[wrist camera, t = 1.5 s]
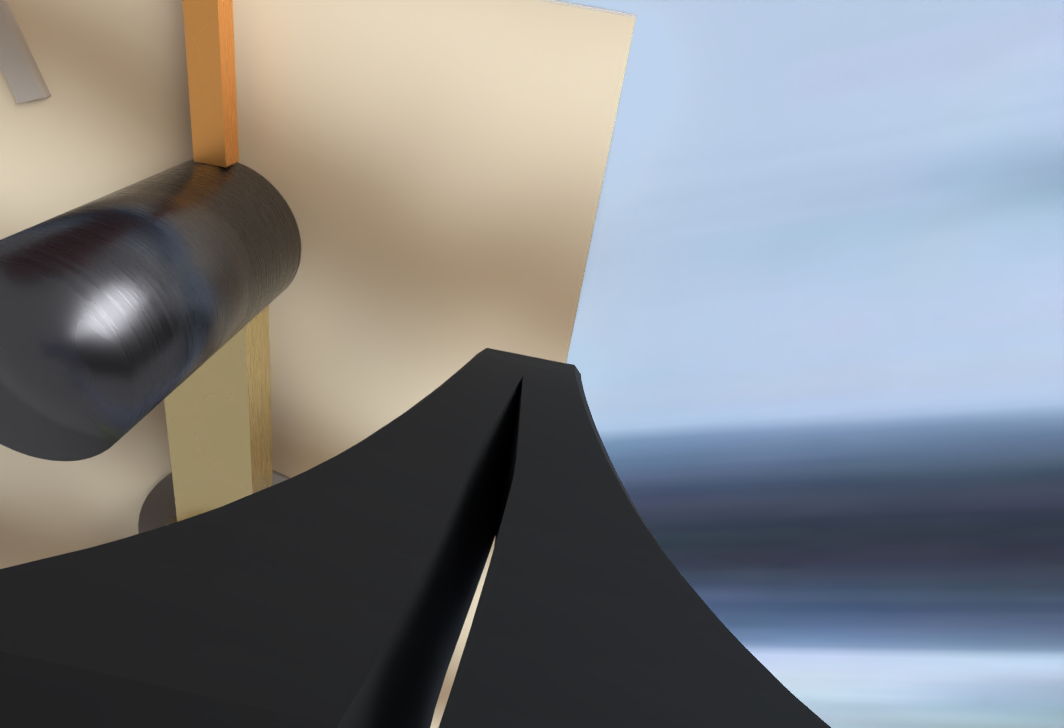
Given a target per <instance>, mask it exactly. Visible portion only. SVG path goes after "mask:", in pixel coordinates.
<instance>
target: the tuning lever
mask: <svg viewBox="0 0 1064 728" xmlns="http://www.w3.org/2000/svg"><path fill="white" fill-rule="evenodd" d="M182 2H183V16H184V30H185V44H186V58H187V72H188V86H189V101H190V115H191V129H192V143H193V157H194V159H192V160H189V161H186V162H183V163H181V164H179V165H176V166H174V167H172V168H169V169H167V170H164V171H162V172H160V173H157V174H155V175H153V176H150V177H148V178H146V179H143V180H141V181H138V182H136V183H134V184H131V185H129V186H127V187H124V188H122V189H119V190H117V191H115V192H112V193H110V194H108V195H105V196H103V197H101V198H98V199H96V200H93V201H91V202H89V203H86V204H84V205H82V206H79V207H77V208H75V209H72V210H70V211H67V212H65V213H63V214H60V215H58V216H56V217H53V218H51V219H49V220H46V221H44V222H41V223H39V224H37V225H34V226H32V227H30V228H27V229H25V230H22V231H20V232H18V233H15V234H13V235H11V236H8V237H6V238H4V239H1V240H0V444H1V445H3V446H6V447H8V448H10V449H12V450H14V451H17V452H20V453H22V454H25V455H28V456H32V457H36V458H40V459H45V460H52V461H79V460H83V459H88V458H91V457H94V456H97V455H99V454H101V453H103V452H105V451H106V450H108V449H110V448H111V447H112V446H113V445H114V444H115V443H116V442H117V441H119V440H120V439H121V438H122V437H123V436H124V435H125V434H126V433H127V432H128V431H130V430H131V429H132V428H133V427H134V426H135V425H136V424H137V423H138V422H140V421H141V420H142V419H143V418H144V417H145V416H146V415H147V414H148V413H150V412H151V411H152V410H153V409H154V408H155V407H156V406H157V405H158V404H159V403H161V402H162V401H163V400H164V403H165V413H166V422H167V431H168V441H169V450H170V459H171V469H172V478H173V487H174V496H175V506H176V514H175V515H174V516H173V517H172V518H171V519H170V520H169V521H168V522H167V524H166V525H169V524H172V523H175V522H178V521H181V520H184V519H187V518H190V517H193V516H196V515H199V514H202V513H205V512H208V511H211V510H213V509H216V508H219V507H222V506H224V505H227V504H229V503H231V502H234V501H236V500H239V499H241V498H244V497H246V496H248V495H251V494H253V493H256V492H258V491H261V490H263V489H265V488H268V487H270V486H273V466H272V424H271V382H270V339H269V304H270V303H271V302H272V301H273V300H275V299H276V298H277V297H278V296H279V295H280V294H281V293H282V292H283V291H285V290H286V289H287V288H288V286H289V285H290V284H291V283H292V281H293V279H294V278H295V276H296V274H297V271H298V268H299V265H300V260H301V249H302V248H301V237H300V232H299V228H298V225H297V222H296V219H295V217H294V215H293V213H292V210H291V209H290V207H289V205H288V204H287V202H286V200H285V199H284V198H283V196H282V195H281V194H280V192H279V191H278V190H277V189H276V188H275V187H274V186H273V185H272V184H271V183H270V182H269V181H268V180H266V179H265V178H264V177H263V176H262V175H260V174H259V173H257V172H256V171H254V170H253V169H251V168H249V167H247V166H245V165H243V164H240V163H238V161H239V147H238V122H237V98H236V73H235V49H234V24H233V0H182ZM166 525H165V526H166Z"/></svg>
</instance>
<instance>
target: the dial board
mask: <svg viewBox="0 0 1064 728" xmlns="http://www.w3.org/2000/svg"><path fill="white" fill-rule="evenodd" d="M635 20H636V15H634V14H628V13H622V12H617V11H611V10H606V9H600V8H594V7H589V6H583V5H578V4H572V3H566V2H561V1H555V0H233V24H234V49H235V73H236V98H237V122H238V147H239V161H238V163H240V164H243V165H245V166H247V167H249V168H251V169H253V170H254V171H256V172H257V173H259V174H260V175H262V176H263V177H264V178H265V179H266V180H268V181H269V182H270V183H271V184H272V185H273V186H274V187H275V188H276V189H277V190H278V191H279V192H280V194H281V195H282V196H283V198H284V199H285V200H286V202H287V204H288V205H289V207H290V209H291V210H292V213H293V215H294V217H295V219H296V222H297V225H298V228H299V232H300V237H301V248H302V249H301V260H300V265H299V268H298V271H297V274H296V276H295V278H294V279H293V281H292V283H291V284H290V285H289V286H288V288H287V289H286V290H285V291H283V292H282V293H281V294H280V295H279V296H278V297H277V298H276V299H275V300H273V301H272V302H271V303H270V304H269V339H270V382H271V424H272V466H273V485H275V484H278V483H280V482H283V481H285V480H287V479H290V478H292V477H294V476H296V475H299V474H301V473H303V472H305V471H307V470H309V469H311V468H313V467H315V466H317V465H319V464H321V463H323V462H325V461H327V460H329V459H331V458H333V457H335V456H336V455H338V454H340V453H342V452H343V451H345V450H347V449H349V448H350V447H352V446H354V445H356V444H357V443H359V442H360V441H362V440H364V439H365V438H367V437H368V436H370V435H371V434H373V433H374V432H376V431H377V430H379V429H381V428H382V427H384V426H385V425H387V424H388V423H390V422H391V421H393V420H394V419H396V418H397V417H399V416H400V415H402V414H403V413H405V412H406V411H407V410H409V409H410V408H411V407H413V406H414V405H415V404H417V403H418V402H419V401H421V400H422V399H423V398H425V397H426V396H427V395H429V394H430V393H431V392H433V391H434V390H435V389H437V388H438V387H439V386H440V385H442V384H443V383H444V382H445V381H446V380H448V379H449V378H450V377H451V376H452V375H454V374H455V373H456V372H457V371H458V370H460V369H461V368H462V367H463V366H464V365H465V364H466V363H468V362H469V361H470V360H471V359H472V358H473V357H474V356H475V355H477V354H478V353H479V352H481V351H482V350H484V349H486V348H491V349H496V350H501V351H506V352H511V353H516V354H521V355H526V356H531V357H536V358H541V359H546V360H551V361H556V362H562V363H566V361H567V356H568V351H569V346H570V341H571V336H572V331H573V326H574V321H575V316H576V311H577V306H578V301H579V297H580V292H581V287H582V282H583V277H584V272H585V267H586V262H587V257H588V252H589V247H590V242H591V237H592V232H593V227H594V222H595V217H596V212H597V208H598V203H599V198H600V193H601V188H602V183H603V178H604V173H605V168H606V163H607V158H608V153H609V148H610V143H611V138H612V133H613V128H614V123H615V119H616V114H617V109H618V104H619V99H620V94H621V89H622V84H623V79H624V74H625V69H626V64H627V59H628V54H629V49H630V44H631V39H632V34H633V30H634V25H635ZM192 159H194V157H193V143H192V129H191V115H190V101H189V86H188V72H187V58H186V44H185V30H184V16H183V2H182V0H0V240H1V239H4V238H6V237H8V236H11V235H13V234H15V233H18V232H20V231H22V230H25V229H27V228H30V227H32V226H34V225H37V224H39V223H41V222H44V221H46V220H49V219H51V218H53V217H56V216H58V215H60V214H63V213H65V212H67V211H70V210H72V209H75V208H77V207H79V206H82V205H84V204H86V203H89V202H91V201H93V200H96V199H98V198H101V197H103V196H105V195H108V194H110V193H112V192H115V191H117V190H119V189H122V188H124V187H127V186H129V185H131V184H134V183H136V182H138V181H141V180H143V179H146V178H148V177H150V176H153V175H155V174H157V173H160V172H162V171H164V170H167V169H169V168H172V167H174V166H176V165H179V164H181V163H183V162H186V161H189V160H192ZM175 514H176V506H175V496H174V487H173V478H172V469H171V459H170V450H169V441H168V431H167V422H166V413H165V403H164V400H163V401H162V402H161V403H159V404H158V405H157V406H156V407H155V408H154V409H153V410H152V411H151V412H150V413H148V414H147V415H146V416H145V417H144V418H143V419H142V420H141V421H140V422H138V423H137V424H136V425H135V426H134V427H133V428H132V429H131V430H130V431H128V432H127V433H126V434H125V435H124V436H123V437H122V438H121V439H120V440H119V441H117V442H116V443H115V444H114V445H113V446H112V447H111V448H110V449H108V450H106V451H105V452H103V453H101V454H99V455H97V456H94V457H91V458H88V459H83V460H79V461H52V460H45V459H40V458H36V457H32V456H28V455H25V454H22V453H20V452H17V451H14V450H12V449H10V448H8V447H6V446H3V445H1V444H0V569H3V568H7V567H11V566H15V565H20V564H24V563H28V562H32V561H36V560H40V559H45V558H49V557H53V556H57V555H61V554H66V553H70V552H74V551H78V550H82V549H86V548H91V547H94V546H98V545H102V544H105V543H109V542H112V541H116V540H120V539H123V538H126V537H130V536H133V535H136V534H140V533H143V532H146V531H150V530H153V529H156V528H159V527H163V526H165V525H166V524H167V522H168V521H169V520H170V519H171V518H172V517H173V516H174V515H175ZM494 544H495V539H494V541H493V544H492V547H491V550H490V553H489V556H488V558H487V561H486V564H485V567H484V570H483V572H482V575H481V578H480V581H479V584H478V586H477V589H476V592H475V595H474V597H473V600H472V603H471V606H470V609H469V611H468V614H467V617H466V620H465V622H464V625H463V628H462V631H461V634H460V636H459V639H458V642H457V645H456V647H455V650H454V653H453V656H452V659H451V661H450V664H449V667H448V670H447V672H446V675H445V679H444V682H443V685H442V688H441V691H440V695H439V698H438V701H437V704H436V708H435V711H434V715H433V719H432V723H431V727H430V728H439V725H440V722H441V719H442V716H443V713H444V710H445V707H446V704H447V701H448V697H449V694H450V691H451V688H452V685H453V682H454V679H455V675H456V672H457V669H458V666H459V663H460V660H461V657H462V653H463V650H464V647H465V644H466V641H467V638H468V635H469V631H470V628H471V625H472V621H473V618H474V615H475V611H476V608H477V605H478V601H479V598H480V595H481V591H482V588H483V585H484V581H485V578H486V575H487V571H488V568H489V564H490V561H491V557H492V554H493V550H494Z"/></svg>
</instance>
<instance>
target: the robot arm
mask: <svg viewBox="0 0 1064 728" xmlns="http://www.w3.org/2000/svg"><path fill="white" fill-rule="evenodd" d="M494 539H495V544H494V550H493V554H492V557H491V561H490V564H489V568H488V571H487V575H486V578H485V581H484V585H483V588H482V591H481V595H480V598H479V601H478V605H477V608H476V611H475V615H474V618H473V621H472V625H471V628H470V631H469V635H468V638H467V641H466V644H465V647H464V650H463V653H462V657H461V660H460V663H459V666H458V669H457V672H456V675H455V679H454V682H453V685H452V688H451V691H450V694H449V697H448V701H447V704H446V707H445V710H444V713H443V716H442V719H441V722H440V725H439V728H831V727H830V726H828V725H827V724H826V723H825V722H824V721H823V720H822V719H820V718H819V717H818V716H817V715H816V714H815V713H813V712H812V711H811V710H810V709H809V708H808V707H807V706H805V705H804V704H803V703H802V702H801V701H800V700H798V699H797V698H796V697H795V696H794V695H793V694H792V693H791V692H790V691H789V690H788V689H787V688H786V687H784V686H783V685H782V684H781V683H780V682H779V681H778V680H777V679H776V678H775V677H774V676H773V675H772V674H771V673H770V672H769V671H768V670H767V669H766V668H765V667H764V666H763V665H762V664H761V663H760V662H759V661H758V660H757V659H756V658H755V657H754V656H753V655H752V654H751V653H750V652H749V651H748V650H747V649H746V648H745V647H744V646H743V645H742V644H741V643H740V642H739V641H738V640H737V638H736V637H735V636H734V635H733V634H732V633H731V632H730V631H729V630H728V629H727V628H726V627H725V626H724V624H723V623H722V622H721V621H720V620H719V619H718V618H717V617H716V615H715V614H714V613H713V612H712V611H711V610H710V608H709V607H708V606H707V605H706V604H705V602H704V601H703V600H702V599H701V598H700V597H699V595H698V594H697V593H696V592H695V591H694V590H693V588H692V587H691V586H690V585H689V584H688V582H687V581H686V580H685V579H684V578H683V577H682V575H681V574H680V573H679V571H678V570H677V569H676V567H675V566H674V565H673V563H672V562H671V561H670V559H669V558H668V557H667V555H666V554H665V552H664V551H663V549H662V548H661V546H660V545H659V543H658V542H657V541H656V539H655V538H654V536H653V535H652V533H651V532H650V530H649V529H648V527H647V526H646V524H645V522H644V521H643V519H642V517H641V516H640V514H639V513H638V511H637V509H636V507H635V506H634V504H633V502H632V501H631V499H630V497H629V495H628V493H627V491H626V490H625V488H624V486H623V484H622V482H621V480H620V479H619V477H618V475H617V473H616V471H615V469H614V467H613V465H612V463H611V460H610V458H609V456H608V454H607V452H606V449H605V447H604V445H603V442H602V440H601V438H600V436H599V433H598V431H597V429H596V426H595V423H594V421H593V418H592V415H591V412H590V409H589V407H588V404H587V401H586V397H585V394H584V390H583V386H582V381H581V374H580V373H579V371H578V370H577V368H576V367H575V365H572V364H567V363H562V362H556V361H551V360H546V359H541V358H536V357H531V356H526V355H521V354H516V353H511V352H506V351H501V350H496V349H491V348H486V349H484V350H482V351H481V352H479V353H478V354H477V355H475V356H474V357H473V358H472V359H471V360H470V361H469V362H468V363H466V364H465V365H464V366H463V367H462V368H461V369H460V370H458V371H457V372H456V373H455V374H454V375H452V376H451V377H450V378H449V379H448V380H446V381H445V382H444V383H443V384H442V385H440V386H439V387H438V388H437V389H435V390H434V391H433V392H431V393H430V394H429V395H427V396H426V397H425V398H423V399H422V400H421V401H419V402H418V403H417V404H415V405H414V406H413V407H411V408H410V409H409V410H407V411H406V412H405V413H403V414H402V415H400V416H399V417H397V418H396V419H394V420H393V421H391V422H390V423H388V424H387V425H385V426H384V427H382V428H381V429H379V430H377V431H376V432H374V433H373V434H371V435H370V436H368V437H367V438H365V439H364V440H362V441H360V442H359V443H357V444H356V445H354V446H352V447H350V448H349V449H347V450H345V451H343V452H342V453H340V454H338V455H336V456H335V457H333V458H331V459H329V460H327V461H325V462H323V463H321V464H319V465H317V466H315V467H313V468H311V469H309V470H307V471H305V472H303V473H301V474H299V475H296V476H294V477H292V478H290V479H287V480H285V481H283V482H280V483H278V484H275V485H273V486H270V487H268V488H265V489H263V490H261V491H258V492H256V493H253V494H251V495H248V496H246V497H244V498H241V499H239V500H236V501H234V502H231V503H229V504H227V505H224V506H222V507H219V508H216V509H213V510H211V511H208V512H205V513H202V514H199V515H196V516H193V517H190V518H187V519H184V520H181V521H178V522H175V523H172V524H169V525H166V526H163V527H159V528H156V529H153V530H150V531H146V532H143V533H140V534H136V535H133V536H130V537H126V538H123V539H120V540H116V541H112V542H109V543H105V544H102V545H98V546H94V547H91V548H86V549H82V550H78V551H74V552H70V553H66V554H61V555H57V556H53V557H49V558H45V559H40V560H36V561H32V562H28V563H24V564H20V565H15V566H11V567H7V568H3V569H0V728H430V727H431V723H432V719H433V715H434V711H435V708H436V704H437V701H438V698H439V695H440V691H441V688H442V685H443V682H444V679H445V675H446V672H447V670H448V667H449V664H450V661H451V659H452V656H453V653H454V650H455V647H456V645H457V642H458V639H459V636H460V634H461V631H462V628H463V625H464V622H465V620H466V617H467V614H468V611H469V609H470V606H471V603H472V600H473V597H474V595H475V592H476V589H477V586H478V584H479V581H480V578H481V575H482V572H483V570H484V567H485V564H486V561H487V558H488V556H489V553H490V550H491V547H492V544H493V541H494Z"/></svg>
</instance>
